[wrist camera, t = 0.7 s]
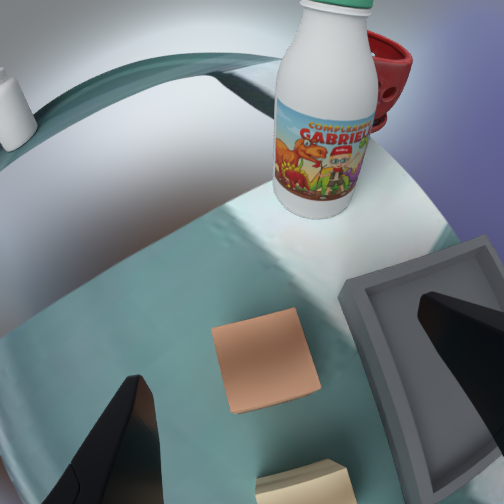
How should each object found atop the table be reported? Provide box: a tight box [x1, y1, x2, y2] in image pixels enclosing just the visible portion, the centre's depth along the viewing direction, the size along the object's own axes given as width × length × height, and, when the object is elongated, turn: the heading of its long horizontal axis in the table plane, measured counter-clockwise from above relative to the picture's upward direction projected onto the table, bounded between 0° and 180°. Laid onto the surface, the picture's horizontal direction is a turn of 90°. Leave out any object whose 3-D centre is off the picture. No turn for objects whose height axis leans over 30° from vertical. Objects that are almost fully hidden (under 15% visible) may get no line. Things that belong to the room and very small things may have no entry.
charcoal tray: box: [338, 234, 504, 504], centre depth 18 cm, size 18×16×3 cm
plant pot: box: [367, 30, 413, 133], centre depth 31 cm, size 13×13×12 cm
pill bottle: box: [0, 67, 38, 152], centre depth 33 cm, size 8×8×15 cm
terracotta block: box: [211, 307, 322, 414], centre depth 18 cm, size 5×5×5 cm
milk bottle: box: [273, 0, 378, 219], centre depth 20 cm, size 8×8×20 cm
